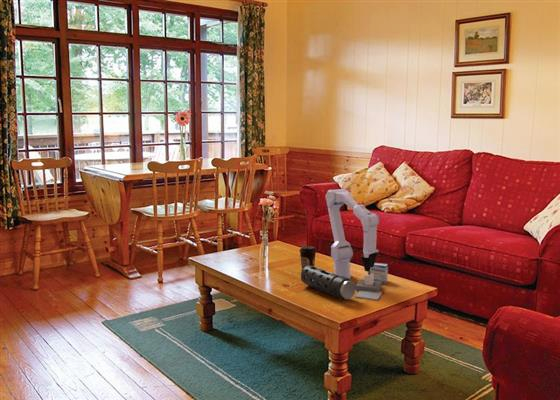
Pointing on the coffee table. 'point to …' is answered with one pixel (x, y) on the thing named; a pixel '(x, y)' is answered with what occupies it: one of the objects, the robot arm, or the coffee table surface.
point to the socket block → (374, 288)
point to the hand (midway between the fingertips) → (369, 269)
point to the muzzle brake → (328, 282)
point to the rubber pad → (368, 295)
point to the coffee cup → (307, 256)
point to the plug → (369, 279)
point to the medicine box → (380, 272)
